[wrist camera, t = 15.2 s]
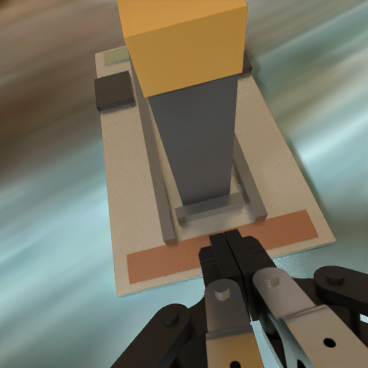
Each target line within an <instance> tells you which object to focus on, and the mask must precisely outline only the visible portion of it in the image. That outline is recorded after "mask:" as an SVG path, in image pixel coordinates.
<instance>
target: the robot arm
mask: <svg viewBox="0 0 368 368" xmlns="http://www.w3.org/2000/svg"><path fill="white" fill-rule="evenodd" d="M209 240H210V246H206V247H202V248H201V249H200V251H199V254H198V256H199V261H200V265H201V270H202V275H203V279H204V284H205V292H204V297H203V298H202V299H201V300H200V302H198V303H197V304H196V305H194V306H192V307H190V308H187V307H186V306H184V305H182V304H170V305H167V306H165V307H163V308H161V309H160V310H159V311H158V312H157V313H156V314H155V315H154V317H153V318H152V319H151V320H150V321H149V322H148V324H147V325H146V326H145V327H144V328H143V330H142V331H141V332H140V333H139V334H138V336H137V337H136V338H135V339H134V340H133V341H132V343H131V344H130V345H129V346H128V347H127V349H126V350H125V351H124V352H123V353H122V354H121V356H120V357H119V358H118V359H117V360H116V362H115V363H114V364H113V365H112V366H111V367H110V368H264V365H263V362H262V359H261V355H260V352H259V348H258V345H257V342H256V338H255V335H254V331H253V328H252V325H250V322H251V319H250V316H251V318H252V321H257V320H259V321H260V323H261V326H262V330H263V336H264V338H265V340H266V342H267V344H268V346H269V348H270V350H271V352H272V354H273V356H274V358H275V360H276V361H277V363H278V365H279V367H280V368H368V323H366V322H363V321H361V320H360V314H362V315H365V316H367V317H368V274H365V273H361V272H358V271H354V270H351V269H347V268H344V267H340V266H324V267H321V268H319V269H318V270H316V271H315V273H314V278H306V279H300V278H293V277H290V275H289V274H288V273H287V272H286V271H284V270H282V269H279V268H277V267H276V265H275V264H274V262H273V261H272V259H271V258H270V256H269V255H268V254H267V252H266V251H265V249H264V248H263V247H262V245H261V243H260V242H259V240H258V239H256V238H254V237H252V236H246V237H242V236H241V234H240V232H239V230H238V229H233V230H229V231H225V232H223V233H222V232H221V233H217V234H213V235H210V236H209ZM249 313H250V314H249Z"/></svg>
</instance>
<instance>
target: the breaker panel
mask: <svg viewBox="0 0 368 368" xmlns="http://www.w3.org/2000/svg"><path fill="white" fill-rule="evenodd" d="M95 59H96V70H97V78H96V79H94V81H95V93H96V106H97V109H98V110H99V111H100V115H101V126H102V137H103V148H104V160H105V171H106V182H107V193H108V204H109V216H110V227H111V238H112V249H113V260H114V272H115V283H116V294H117V296H118V297H125V296H129V295H133V294H137V293H141V292H145V291H149V290H153V289H157V288H161V287H165V286H169V285H173V284H177V283H180V282H184V281H188V280H192V279H196V278H200V277H203V275H202V270H201V265H200V261H199V256H198V254H199V251H200V249H201V248H202V247H206V246H210V240H209V236H210V235H213V234H217V233H221V232H222V233H223V232H225V231H229V230H233V229H238V230H239V232H240V234H241V236H242V237H246V236H252V237H254V238H256V239H258V240H259V242H260V243H261V245H262V247H263V248H264V249H265V251H266V252H267V254H268V255H269V256H270V258H271V259H275V258H279V257H283V256H287V255H291V254H295V253H299V252H303V251H307V250H311V249H315V248H319V247H323V246H327V245H331V244H332V243H333V242H335V241H336V239H335V237H334V235H333V233H332V231H331V230H330V228H329V226H328V224H327V222H326V220H325V218H324V216H323V214H322V212H321V210H320V208H319V206H318V204H317V202H316V200H315V198H314V196H313V194H312V192H311V190H310V188H309V186H308V185H307V183H306V181H305V179H304V177H303V175H302V173H301V171H300V169H299V167H298V165H297V163H296V161H295V159H294V157H293V155H292V153H291V151H290V149H289V147H288V145H287V143H286V141H285V139H284V138H283V136H282V134H281V132H280V130H279V128H278V126H277V124H276V122H275V120H274V118H273V116H272V114H271V112H270V110H269V108H268V106H267V104H266V102H265V100H264V98H263V96H262V94H261V93H260V91H259V89H258V87H257V85H256V83H255V81H254V79H253V77H252V75H251V73H250V72H251V70H252V66H251V64H250V62H249V60H248V59H247V57H246V55H245V53H244V56H243V68H242V73H239V74H238V88H237V102H236V117H235V131H234V145H233V159H232V173H231V187H230V194H229V195H225V196H221V197H217V198H213V199H209V200H205V201H201V202H197V203H193V204H190V205H186V206H183V204H182V201H181V198H180V195H179V192H178V189H177V186H176V183H175V180H174V177H173V174H172V171H171V168H170V165H169V162H168V159H167V156H166V152H165V149H164V146H163V143H162V140H161V137H160V134H159V131H158V128H157V125H156V122H155V119H154V116H153V113H152V110H151V107H150V104H149V101H148V98H147V97H146V98H144V95H143V92H142V89H141V86H140V83H139V80H138V77H137V74H136V72H135V69H134V66H133V63H132V60H131V57H130V54H129V51H128V48H127V46H123V47H119V48H115V49H111V50H107V51H103V52H100V53H96V54H95Z"/></svg>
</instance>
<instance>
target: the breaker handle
mask: <svg viewBox="0 0 368 368" xmlns="http://www.w3.org/2000/svg"><path fill="white" fill-rule="evenodd" d="M117 2H118V8H119V13H120V19H121V25H122V30H123V36H124V39H125V42H126V45H127V48H128V51H129V54H130V57H131V60H132V63H133V66H134V69H135V72H136V74H137V77H138V80H139V83H140V86H141V89H142V92H143V95H144V98H146V97H147V98H148V101H149V104H150V107H151V110H152V113H153V116H154V119H155V122H156V125H157V128H158V131H159V134H160V137H161V140H162V143H163V146H164V149H165V152H166V156H167V159H168V162H169V165H170V168H171V171H172V174H173V177H174V180H175V183H176V186H177V189H178V192H179V195H180V198H181V201H182V204H183V206H186V205H190V204H193V203H197V202H201V201H205V200H209V199H213V198H217V197H221V196H225V195H229V194H230V187H231V173H232V159H233V145H234V131H235V117H236V102H237V88H238V74H239V73H242V68H243V56H244V45H245V33H246V21H247V10H248V5H247V3H246V2H245V0H117Z"/></svg>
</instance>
